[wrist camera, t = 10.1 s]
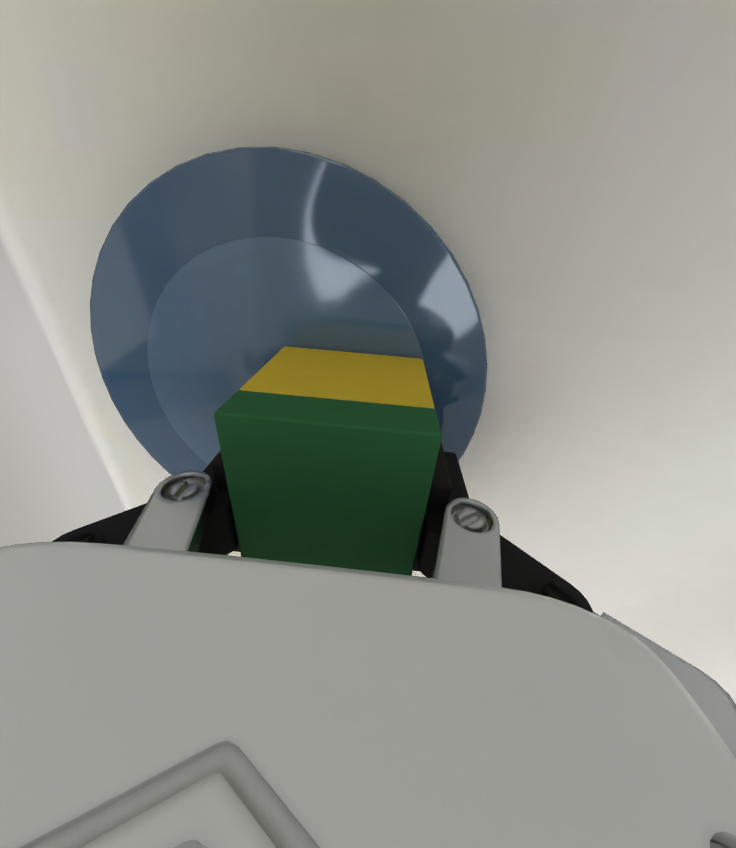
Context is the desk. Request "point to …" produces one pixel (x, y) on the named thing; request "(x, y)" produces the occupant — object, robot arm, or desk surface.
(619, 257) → the desk surface
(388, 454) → the sponge
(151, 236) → the plate
